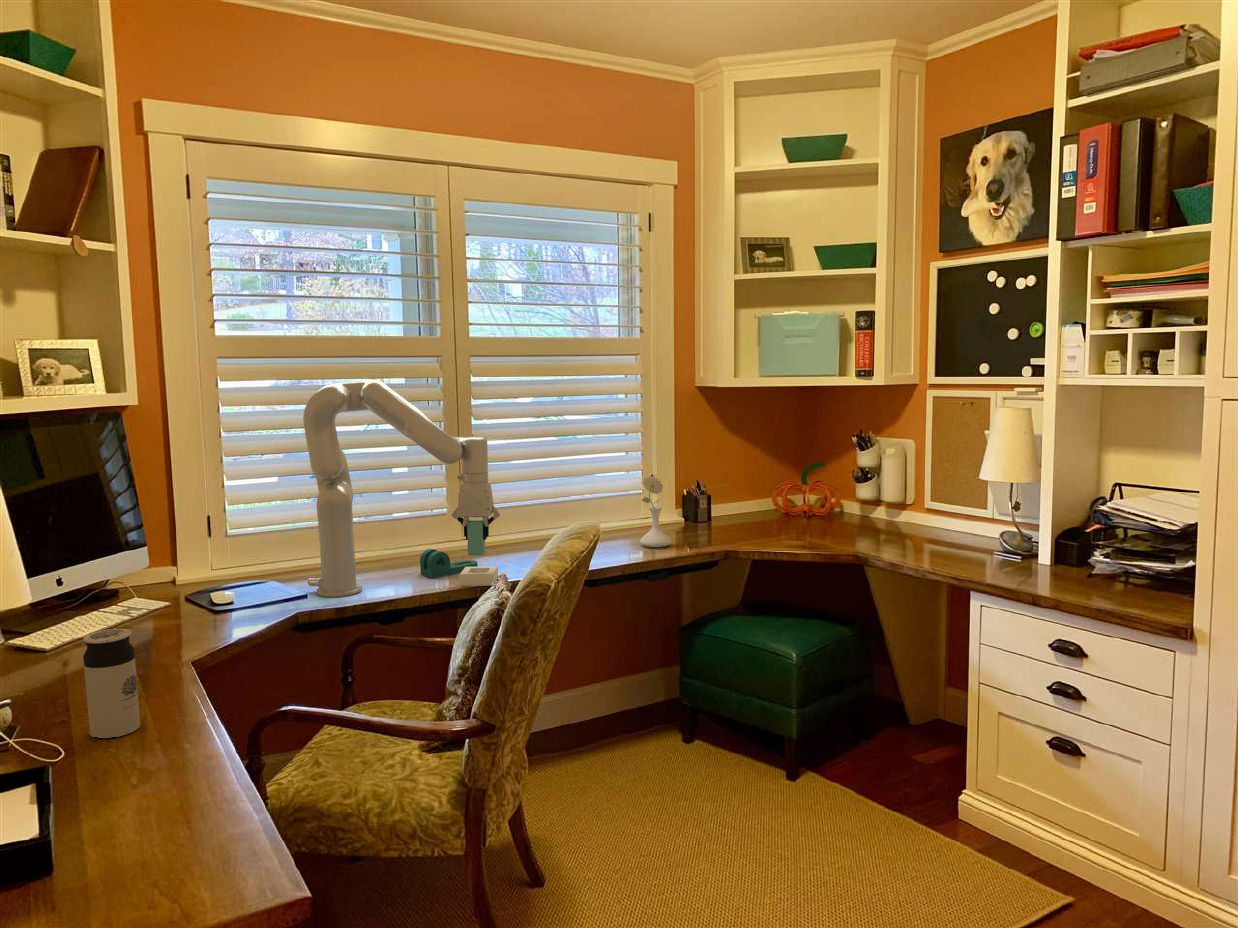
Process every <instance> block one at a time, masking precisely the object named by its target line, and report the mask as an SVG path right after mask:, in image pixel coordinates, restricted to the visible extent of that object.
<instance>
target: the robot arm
mask: <svg viewBox="0 0 1238 928" xmlns="http://www.w3.org/2000/svg"><path fill="white" fill-rule="evenodd" d="M368 410H369V411H371V413H374V414H375V415H376V416H378V417H379V418H380V419H382V420H383V421H384V422H386V423H387V424H388V425H390V426H391V427H392V428H394V429H395V430H396V431H398V432H399V433H400V434H402V435H403V437H404V436H405V437H406V438H408V439H409V440H411V441H413V442H414V443H416V444H417V445H418V446H419V447H421V448H422V449H423V450H425V451H426V452H427V453H429V454H430V455H432V456H433V457H434V458H436V459H437V460H439V461H440V462H442V463H443V464H445V465H453V464H456V463H457V462H459V461H460V460H461V463H462V465H461V467H462V471H461V472H462V473H461V474H457V480H461V483H459V485H458V486H459V487H458V493H457V495H458V497H457V507H456V508H455V509H454V510H453V512H452V513H451V516H452V518H454V519H456V520H457V521H458V522H459V524H461V525H462V527H463V537H465V540H466V541H468V536H467V522H468V521H469V520H470V518H482V520H483V521H484V527H483V539H484V540H485V541H486V540H487V538H488V537H489V536H490V535H489V533H490V532H489V531H490V530H489V529H490V527H489V526H490V524H492V522H494V521H495V520H496V519H498V518H499V517H500V516H501V513H500V511H498V510H497V508H496V507H495V505H494V498H493V489H492V485H491V482H489V458H488V457H489V456H488V455H489V453H488V440H487V438H485V437H484V436H466V437H459V436H451V435H450V434H448V432H446V431H444V430H443V429H441V428H440V427H439V426H438V425H436V423H434V422H433V421H431V420H430V419H429V418H428V417H427V416H426V415H425V414H424V413H423V412H422V411H421V410H420V409H419V408H418V407H416V406H415V405H414V404H412V403H411V402H410V401H408V400H407V399H406V398H404V397H402V395H400V394H398V393H397V392H396V391H395V390H393V389H392V388H391V387H390V386H388V385H387V384H386V383H385V382H383V381H381V380H377V379H376V380H375V379H373V380H367V381H365V380H364V381H358V382H357V381H356V382H344V383H342V382H341V383H331V384H327V385H324V386H322V387H321V388H320V389H319V390H318V391H315V393H314V394H313V395H311V396H310V398H309V399H308V401H307V402H306V404H305V407H304V410H303V417H302V419H303V427H304V435H305V440H306V445H307V451H308V456H309V462H310V463H309V464H310V469H311V471H312V472H313V474H314V476H315V480H316V484H317V488H318V489H317V490H318V495H317V497H316V514H317V523H318V524H317V525H318V526H317V527H318V539H319V540H318V541H319V550H320V551H319V554H320V570H321V571H320V572H321V576H320V577H318V578H313V577H312V578H308V579H307V584H308V586H309V587H318V588H317V589H316V595H318V596H320V597H326V598H336V597H337V598H338V597H346V596H351V595H355V594H359V593H361V592H362V590H363V586H362V584H360V583H357V572H356V553H355V552H356V550H355V537H354V536H355V535H354V522H353V521H354V519H353V500H354V491H353V490H354V489H353V486H352V485H353V484H352V480H351V476H350V470H349V466H348V461H347V457H346V455H345V454H346V453H344V451H343V450H342V449H341V448H340V443H339V439H338V432H337V427H336V417H337V416H338V415H339V414H340V413H346V412H356V411H357V412H358V411H368ZM492 514H493V515H492ZM491 515H492V516H491ZM490 516H491V517H490Z"/></svg>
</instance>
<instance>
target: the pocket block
mask: <svg viewBox="0 0 1238 928" xmlns="http://www.w3.org/2000/svg"><path fill="white" fill-rule="evenodd" d="M497 577H498V578H499V566H497V565H495V566H493V565H492V566H491V565H490V566H486V565H485V566H478V567H465V568H464V569H463V571H462V572H461V573H459V586H460V587H473V586H474V587H475V586H477V587H479V586H480V587H481V586H482V587H483V586H486V587H487V586H492V585H491V584H492V583H493V582H494V581H495V579H496V578H497Z"/></svg>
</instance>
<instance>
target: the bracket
mask: <svg viewBox="0 0 1238 928" xmlns="http://www.w3.org/2000/svg"><path fill="white" fill-rule="evenodd" d="M419 564H420V565H419V566H420V569H419V570H420V575H421V576H423V577H427V578H429V579H435V578H441V577H445V576H451V574H452V575H456V574H460V573H461V572H462V571H463V569H464V568H465V567H479V566H478V565H479V564H478V561H477V560H473V559H472V560H471V559H469V560H466V559H465V560H459V561H453V562H451V559H450V556H449V554H447V553H446V552H444V551H441V550H437V549H433V548H428V549H425V550H424V551H423V552H422V553H421V555H420V558H419Z"/></svg>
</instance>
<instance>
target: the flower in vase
mask: <svg viewBox="0 0 1238 928" xmlns="http://www.w3.org/2000/svg"><path fill="white" fill-rule="evenodd" d="M641 481H642V483H641V484H642V486H643V488H645V490H646V491H648V492H649V494H648V497H647V496H644V497H643V498H642V500H641V502H644V503H647V504H649V503H651V505H652V506H649V507H648V508H647V509H648V510H649V512H650V514H651V519H652V522H651V523H652V525H651V528H650V530H649V531H648V532H647V533H645V534H644V535H643V536H642V537H641V538H640V540H639V544H640V545H641V546H645V547H648V548H662V547H663V548H664V547H666V546H669V545H671V544H672V542H673V541H672V538H671V537H670V536H668V534H666V533H665V532H664V531H663V530H661V527H660V524H659V523H660V522H659V521H660V520H659V519H660V514H661V511H662V510H663V507H662V506H654V504H657V503H658V502H660V501H661V499H657V500H655V501H654V502H652V499H651V493H652V494H656V495H658V494H660V493H662V492H663V487H664V486H663V483H662V481H661V480H659V478H656V477H655V476H654V475H652V476H651V475H646V476H645V477H643V478H642V480H641Z"/></svg>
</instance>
